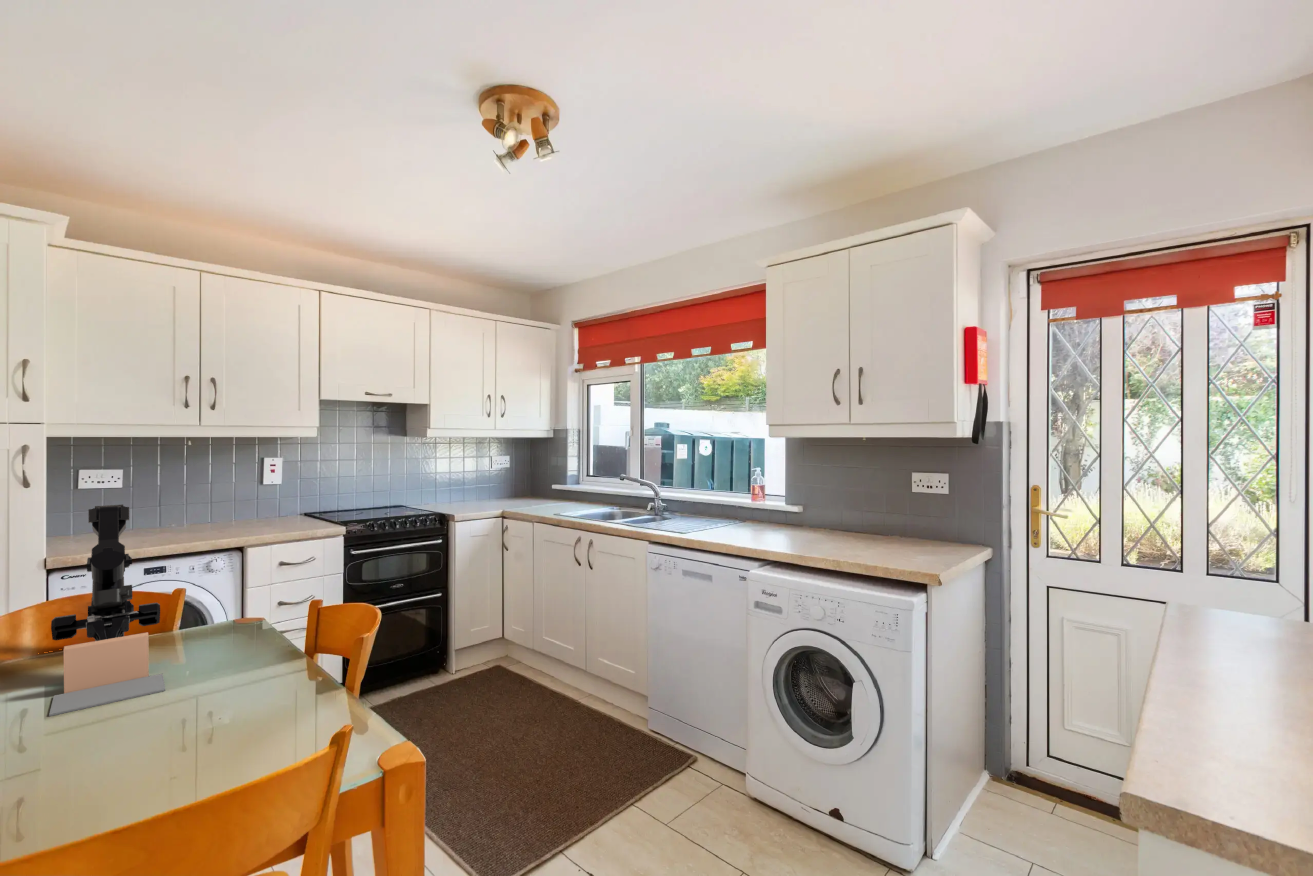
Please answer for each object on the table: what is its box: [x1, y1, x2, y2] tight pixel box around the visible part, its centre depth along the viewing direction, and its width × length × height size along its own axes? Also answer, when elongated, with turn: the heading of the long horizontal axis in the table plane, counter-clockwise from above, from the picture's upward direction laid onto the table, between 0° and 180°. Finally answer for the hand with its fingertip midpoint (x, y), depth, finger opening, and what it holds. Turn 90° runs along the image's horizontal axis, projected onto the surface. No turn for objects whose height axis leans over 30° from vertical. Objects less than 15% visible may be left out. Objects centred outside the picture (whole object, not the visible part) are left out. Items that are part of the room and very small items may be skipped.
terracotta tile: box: [63, 632, 150, 694], centre depth 136 cm, size 2×14×10 cm, turn 132°
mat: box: [48, 673, 166, 717], centre depth 131 cm, size 12×18×1 cm, turn 132°
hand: (108, 652), depth 137 cm, fingers closed
